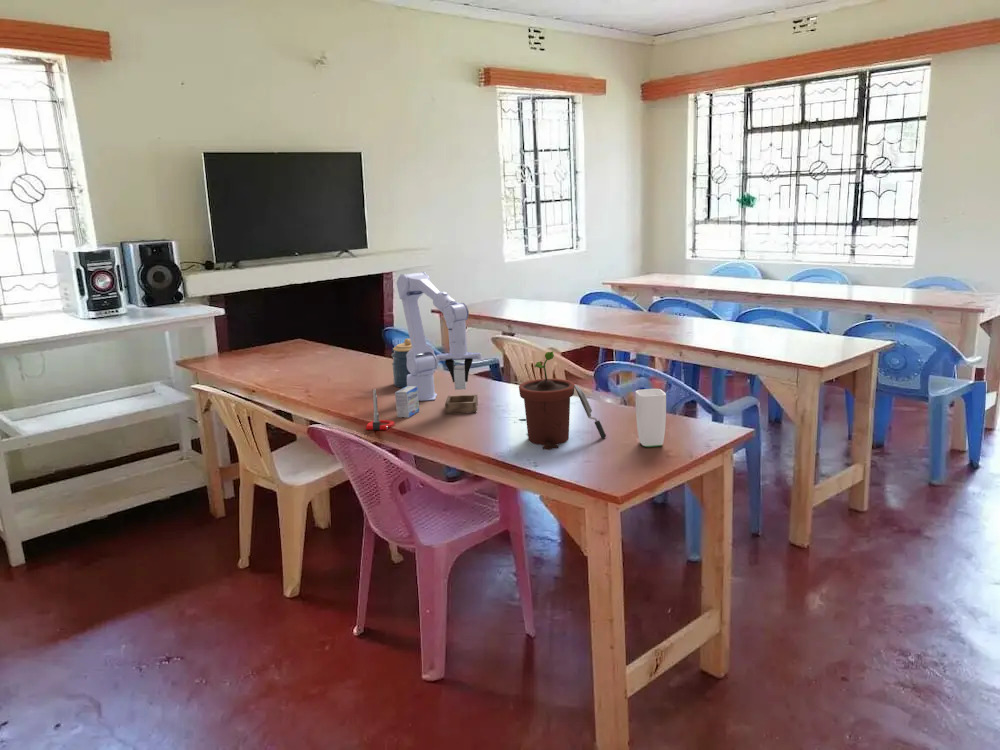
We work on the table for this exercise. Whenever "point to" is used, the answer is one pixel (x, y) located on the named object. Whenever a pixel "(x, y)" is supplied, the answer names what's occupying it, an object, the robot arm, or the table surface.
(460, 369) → the grey two-tone block
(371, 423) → the tow hook
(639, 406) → the cup
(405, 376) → the canister
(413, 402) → the medicine box
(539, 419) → the potted plant
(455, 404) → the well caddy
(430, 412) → the table surface
